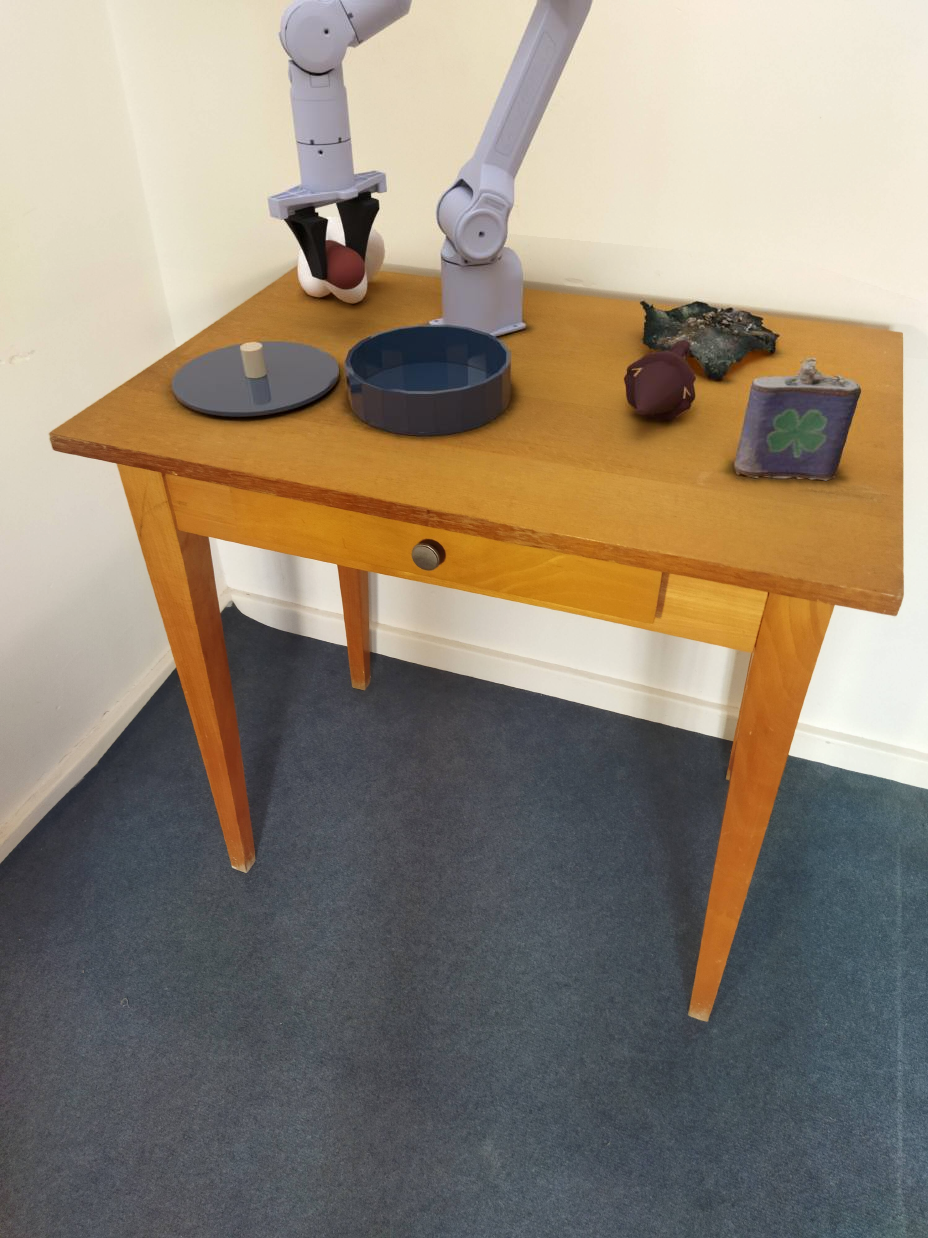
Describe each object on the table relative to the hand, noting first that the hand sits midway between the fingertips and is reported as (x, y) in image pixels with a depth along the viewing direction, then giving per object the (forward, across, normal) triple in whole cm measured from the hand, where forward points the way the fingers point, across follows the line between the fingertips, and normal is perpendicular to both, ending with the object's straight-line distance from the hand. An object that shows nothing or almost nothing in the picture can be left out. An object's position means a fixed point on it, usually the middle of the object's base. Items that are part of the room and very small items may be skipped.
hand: (338, 271), depth 100 cm
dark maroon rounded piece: (+9, +11, -38) cm, 40 cm away
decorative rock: (+9, +29, -31) cm, 44 cm away
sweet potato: (+1, 0, 0) cm, 1 cm away
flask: (+9, +10, -53) cm, 55 cm away
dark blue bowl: (+8, -3, -18) cm, 20 cm away
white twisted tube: (+9, +11, +13) cm, 19 cm away
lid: (+8, -14, -2) cm, 16 cm away
